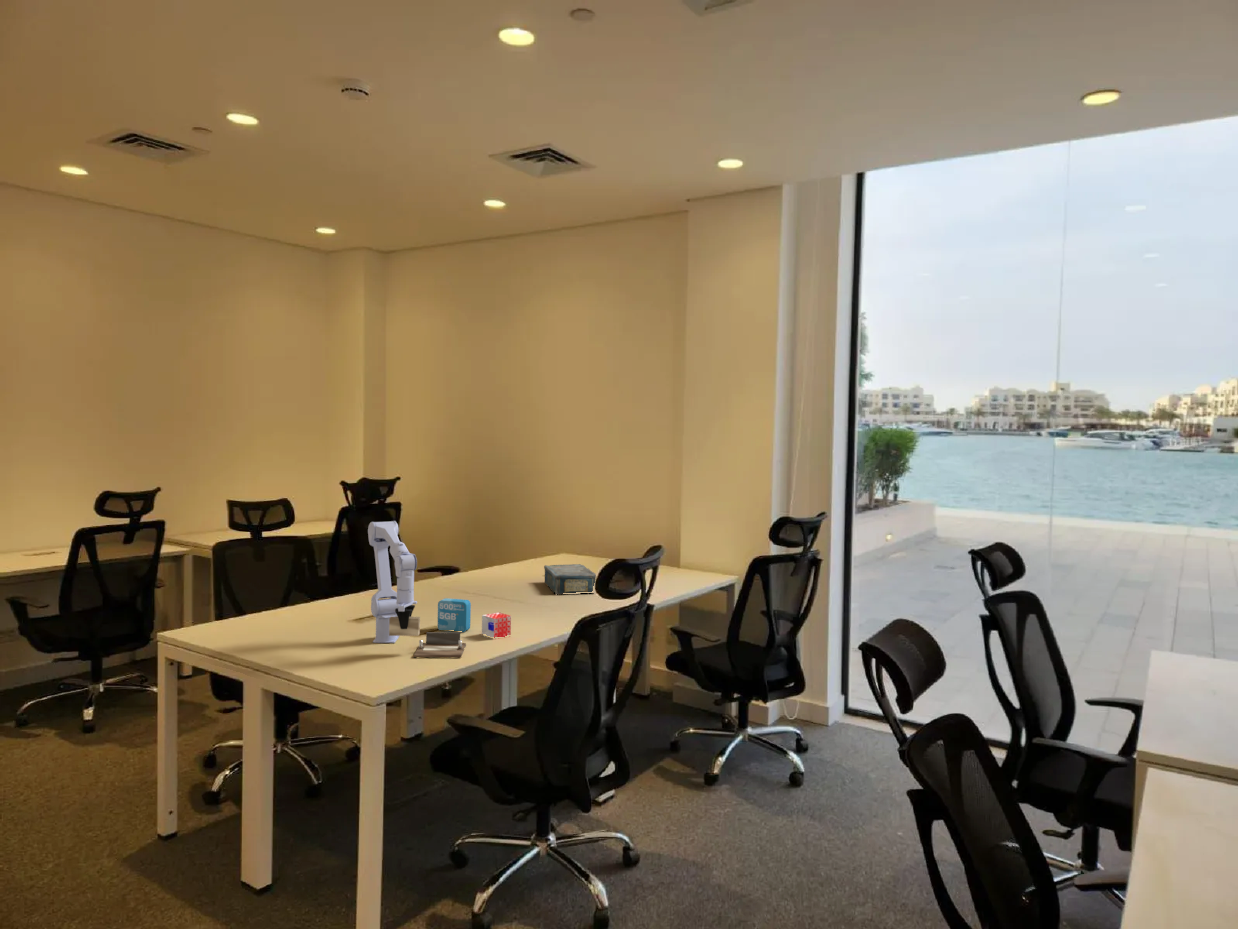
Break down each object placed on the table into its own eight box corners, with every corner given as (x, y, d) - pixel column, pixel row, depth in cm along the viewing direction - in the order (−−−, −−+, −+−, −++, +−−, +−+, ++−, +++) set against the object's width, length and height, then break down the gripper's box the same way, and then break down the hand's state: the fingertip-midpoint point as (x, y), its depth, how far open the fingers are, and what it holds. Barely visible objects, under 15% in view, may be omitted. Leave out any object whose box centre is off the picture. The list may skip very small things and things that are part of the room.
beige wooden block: (390, 633, 286) (391, 616, 286) (419, 633, 287) (420, 616, 287) (389, 635, 283) (389, 618, 283) (418, 635, 284) (418, 618, 284)
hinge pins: (419, 648, 288) (419, 640, 288) (461, 648, 289) (462, 640, 289) (419, 649, 287) (419, 640, 287) (461, 649, 288) (461, 641, 288)
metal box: (553, 596, 391) (554, 575, 390) (542, 583, 422) (543, 564, 422) (596, 595, 396) (597, 574, 396) (582, 582, 428) (583, 563, 427)
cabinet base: (421, 645, 295) (421, 632, 295) (465, 645, 297) (466, 632, 296) (413, 658, 279) (413, 643, 279) (460, 658, 281) (461, 643, 280)
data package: (437, 630, 318) (437, 600, 317) (442, 628, 322) (442, 597, 322) (465, 632, 315) (466, 602, 315) (470, 630, 320) (471, 600, 319)
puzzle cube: (510, 636, 312) (511, 615, 312) (493, 639, 307) (494, 618, 306) (498, 632, 318) (498, 612, 318) (481, 635, 312) (481, 615, 312)
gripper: (413, 593, 278) (412, 632, 278) (420, 585, 292) (420, 622, 292) (392, 593, 277) (391, 632, 278) (400, 585, 291) (400, 622, 292)
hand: (404, 627), depth 285 cm, fingers closed on beige wooden block, 3 cm apart
